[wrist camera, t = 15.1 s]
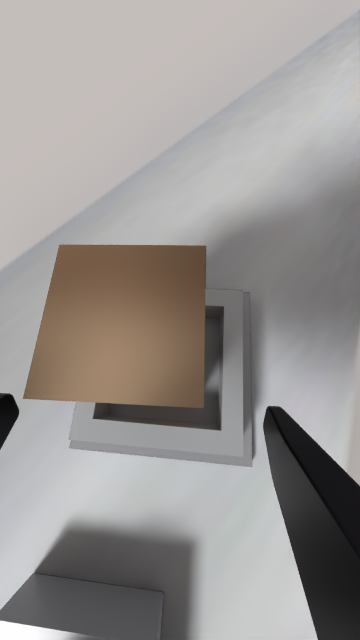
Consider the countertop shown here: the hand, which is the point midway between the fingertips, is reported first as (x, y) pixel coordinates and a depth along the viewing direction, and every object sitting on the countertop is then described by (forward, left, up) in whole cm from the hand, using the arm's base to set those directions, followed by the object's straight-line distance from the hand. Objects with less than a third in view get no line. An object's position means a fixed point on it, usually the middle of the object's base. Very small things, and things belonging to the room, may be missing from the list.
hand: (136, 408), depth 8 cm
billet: (+3, 0, -8) cm, 9 cm away
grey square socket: (+3, 0, -9) cm, 9 cm away
